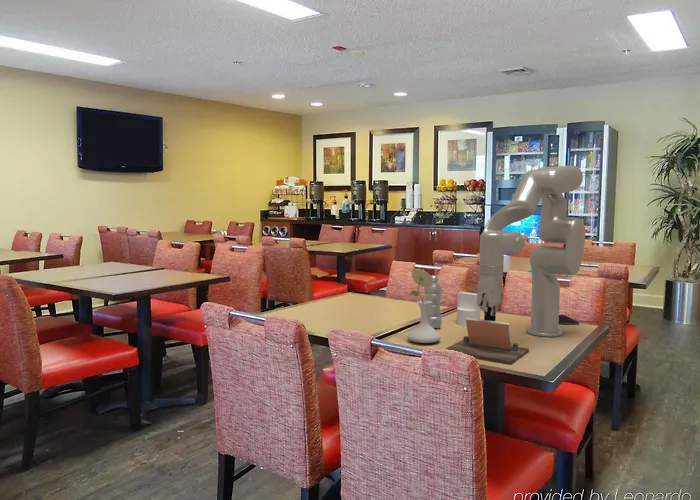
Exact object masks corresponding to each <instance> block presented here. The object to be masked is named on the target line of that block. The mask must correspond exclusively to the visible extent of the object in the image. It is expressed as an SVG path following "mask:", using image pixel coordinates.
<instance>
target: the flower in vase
mask: <svg viewBox="0 0 700 500" xmlns="http://www.w3.org/2000/svg"><path fill="white" fill-rule="evenodd" d="M430 276H431V274H430V273H429V271H425V269H424V268H422V269H421V268H415V269H413V270H412V271H411V275H410V278H412V280H413V281H414V283H415V284H417V286H418V288H417V290H412V291H411V292H410V295H412V296H414V297H417V298H418V297H420V300H418V301H417V300H416V303H417V305H418V306H419V310H420V322H419V324H418V325H416V326H415V327H414V328H412V329H411V330H410V331H409V332H408V334H407V338H408V340H409V341H411V342H415V343H420V344H433V343H436V342H439V341H440V339H441V338H442V337H441V334H440V333H439V331H437V330H436V328H432V327H431V326H430V325H429V323H428V319H427V316H428V309H429V306H430V304H431V303H432V302H431V301H425V300H424V299H425V297H426V296H428V295H429V294H430V293H429V294H426V295H425V294H424V296H422V295H421V294H420V286H421V287H422V288H425V287H429V286H432V281H433V280H432V278H431V277H430ZM423 298H424V299H423Z"/></svg>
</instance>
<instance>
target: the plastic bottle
mask: <svg viewBox="0 0 700 500" xmlns="http://www.w3.org/2000/svg"><path fill="white" fill-rule="evenodd" d="M430 275H431V274H430ZM430 277H431V278H432V280H433V281H432V286H429V287H423V292H424V296H425V295H426V294H429V293H430V294H429V295H428V296H426V297H424V299H425V300H424V301H431V302H432V303H431V304H430V306H429V309H428V316H427V319H428V323H429V325H430V326H431V327H432V328H434V329H440V328H441V326H442V325H443V324H442V323H443V321H442V316H441V298H442V292H443V291H442V286H441V285H440V284H439V275H435V274H432V275H431V276H430Z"/></svg>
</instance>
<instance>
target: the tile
mask: <svg viewBox="0 0 700 500" xmlns="http://www.w3.org/2000/svg"><path fill="white" fill-rule="evenodd" d="M466 324H467V326H466V330H467V336H468V338H469V343H472V344H478V345H485V346H491V347H498V348H504V349H510V350H512V346H513V343H512V341H513V340H512V336H511V335H512V332H511V325H510V324H511V323H509V322H503V321H497V320H496V321H489V320H484V319H481V318H480V319H474V318H467V319H466Z"/></svg>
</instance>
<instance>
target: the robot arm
mask: <svg viewBox="0 0 700 500" xmlns="http://www.w3.org/2000/svg"><path fill="white" fill-rule="evenodd" d="M583 178H584V175H583V171H582V170H581V169H580V167H578V166H576V165H562V166H561V165H560V166H559V165H558V166H557V165H555V166H544V167H539V168H537V169H535V168H534V169H531V170H527V171H526V172H525V173H524V174H523V176H522V177H521V179H520V181H519V184H518V186H517V188H516V190H515V192H514V194H513V195H512V197H511V200H510V202H509V203H508V204H506V205H504V206H503V207H502V208H500V209H499V210H498V211H496V212H495V213H494V214H493V215H492V216H491V217H489V219H488V221H487V223H486V224H485V226H484V229H483V230H482V233H481V234H480V236H479V254H478V256H479V257H478V258H479V260H478V261H479V262H478V264H479V265H478V276H479V278H478V285H477V293H476V294H477V305H478V306H480V307H481V312H483V318H484V319H483V320H489V321H497V320H496V319H497V318H496V317H497V308H498V307H499V305H501V303H502V300H503V299H502V296H503V295H502V294H503V285H502V284H503V283H502V280H503V279H502V277H504V256H505V255H517V254H519V253H521V251H522V250H523V249H524V247H525V237H524V236H523V235H522V234H521V233H520V232H518V231H513V230H509V231H508V230H504V229H505V228H507V227H508V226H509V225H511V224H514V223H517V222H519V221H520V222H521V221H522V220H525V219H527V218H529V217H532V216H533V215H534V213H535V211H536V209H537V207H538V205H539V203H540V200H541V213H540V217H539V218H540V220H539V227H538V237H539V240H541V242H545V243H549V244H559V245H560V244H561V245H563V244H564V245H565V247H562V246H550V245H549V246H548V245H541V246H536V247H535V248H533V249H532V250H531V252H530V255H529V264H530V270H531V286H532V287H531V307H530V308H531V314H530V326H529V327H526V329H525V330H526V333H528V334H530V335H534V336H537V337H538V336H539V337H545V338H546V337H549V338H551V337H553V338H554V337H560V336H563V334H564V331H563V329H562V328H559V326H560V325H559V315H560V298H561V297H560V294H561V284H560V282H559V279H558V277H557V276H556V275H565V276H574V275H576V274H577V273H579V271H580V269H581V266H582V263H583V255H584V249H585V248H584V246H585V240H586V225H585V223H584V221H583V220H582V219H581V218H579V217H575V216H574V217H573V216H567V211H568V210H567V209H568V202H567V200H566V198H565V196H564V195H563V194H565V193H570V192H573V191H576V190H577V189H579V187H581V185H582V183H583V180H584V179H583Z"/></svg>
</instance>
